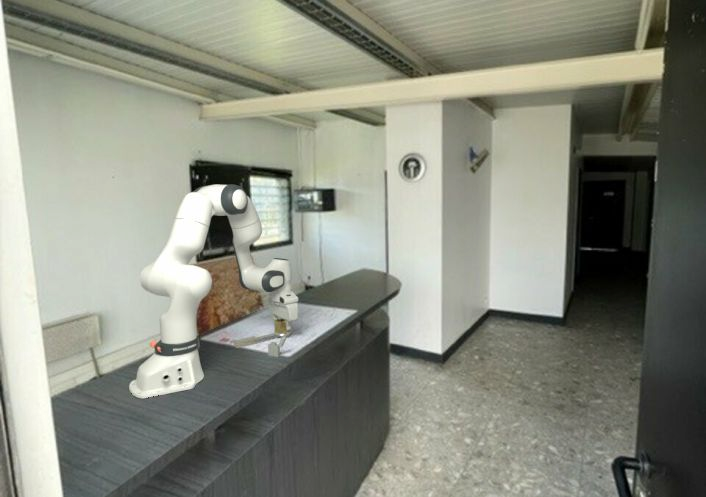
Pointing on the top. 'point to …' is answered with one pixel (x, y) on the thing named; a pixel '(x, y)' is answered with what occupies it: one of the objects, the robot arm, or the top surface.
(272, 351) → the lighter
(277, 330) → the socket
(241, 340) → the ratchet
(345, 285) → the top surface
